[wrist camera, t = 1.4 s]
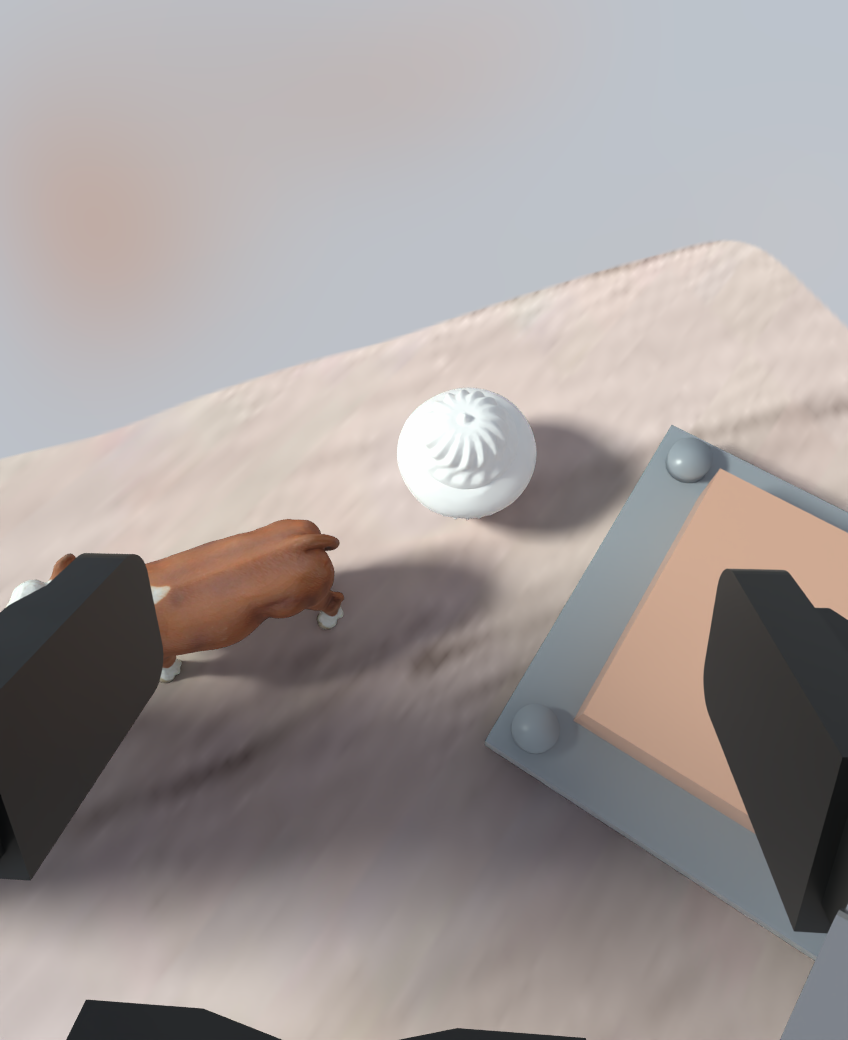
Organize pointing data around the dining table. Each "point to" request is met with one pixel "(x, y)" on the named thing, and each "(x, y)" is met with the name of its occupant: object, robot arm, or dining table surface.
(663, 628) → the grey pegged tray
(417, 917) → the dining table surface
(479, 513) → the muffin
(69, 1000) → the dining table surface
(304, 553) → the bull figurine
